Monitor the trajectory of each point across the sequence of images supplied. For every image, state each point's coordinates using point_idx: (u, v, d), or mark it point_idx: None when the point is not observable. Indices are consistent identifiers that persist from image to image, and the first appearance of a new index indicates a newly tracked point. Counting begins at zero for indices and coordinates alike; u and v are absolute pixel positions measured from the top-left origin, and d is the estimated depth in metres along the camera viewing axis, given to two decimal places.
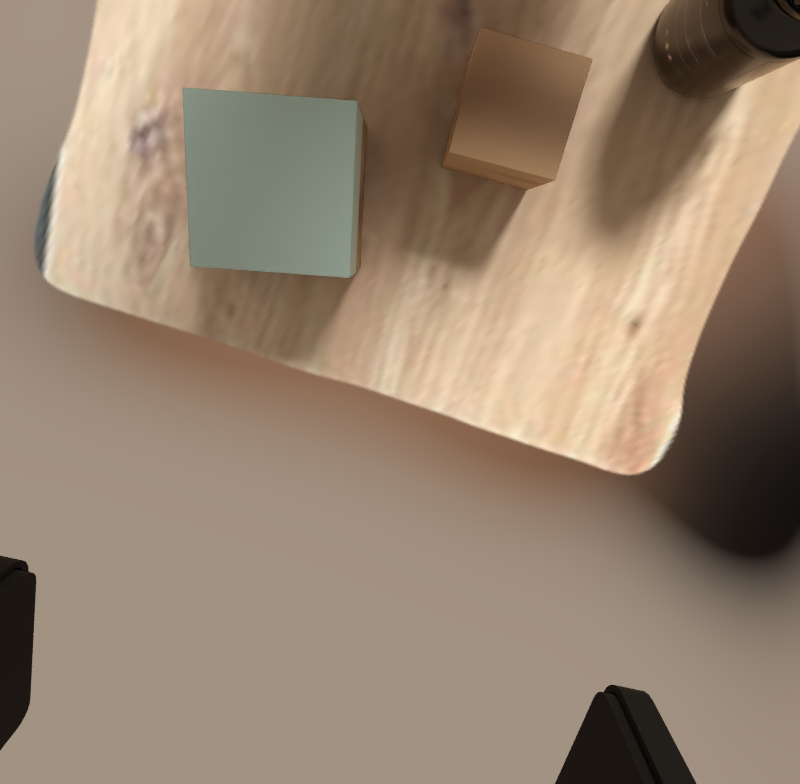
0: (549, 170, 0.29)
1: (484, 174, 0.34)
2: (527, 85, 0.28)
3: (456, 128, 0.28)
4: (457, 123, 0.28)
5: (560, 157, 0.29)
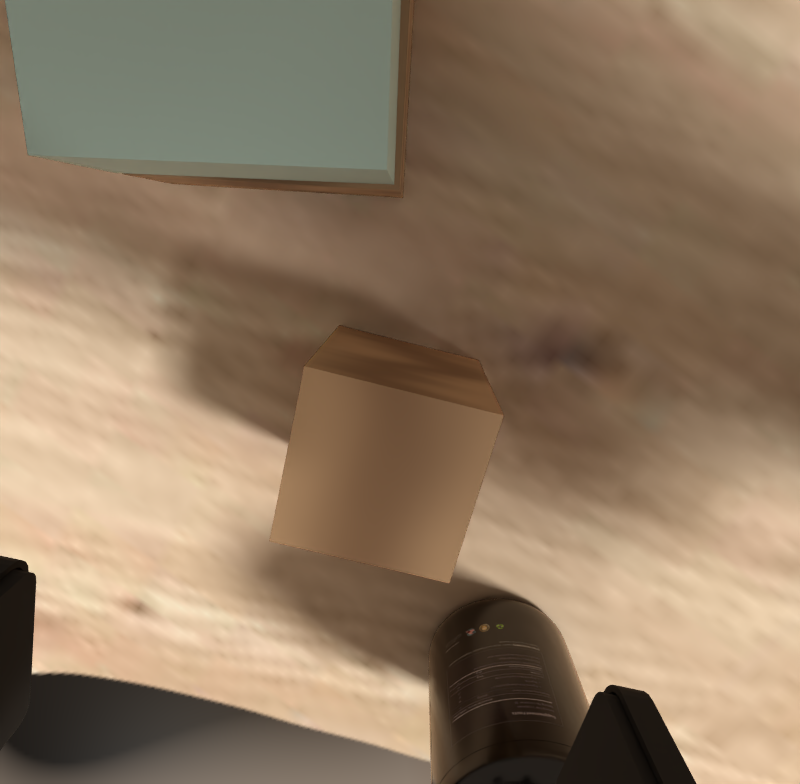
0: (284, 532, 0.17)
1: None
2: (413, 493, 0.16)
3: (343, 378, 0.15)
4: (352, 379, 0.15)
5: (305, 547, 0.17)
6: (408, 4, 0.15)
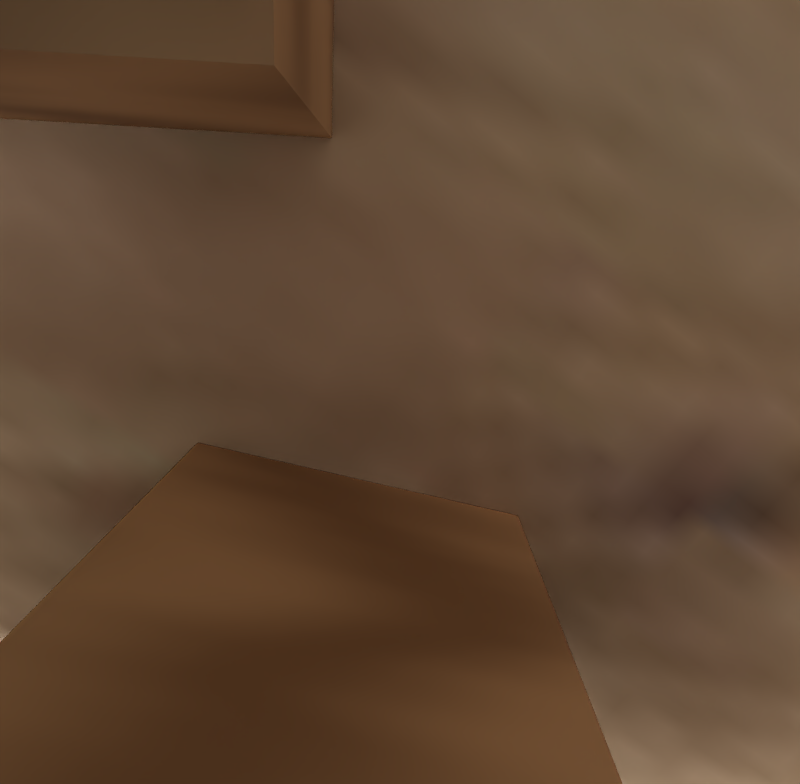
0: None
1: None
2: None
3: None
4: None
5: None
6: None
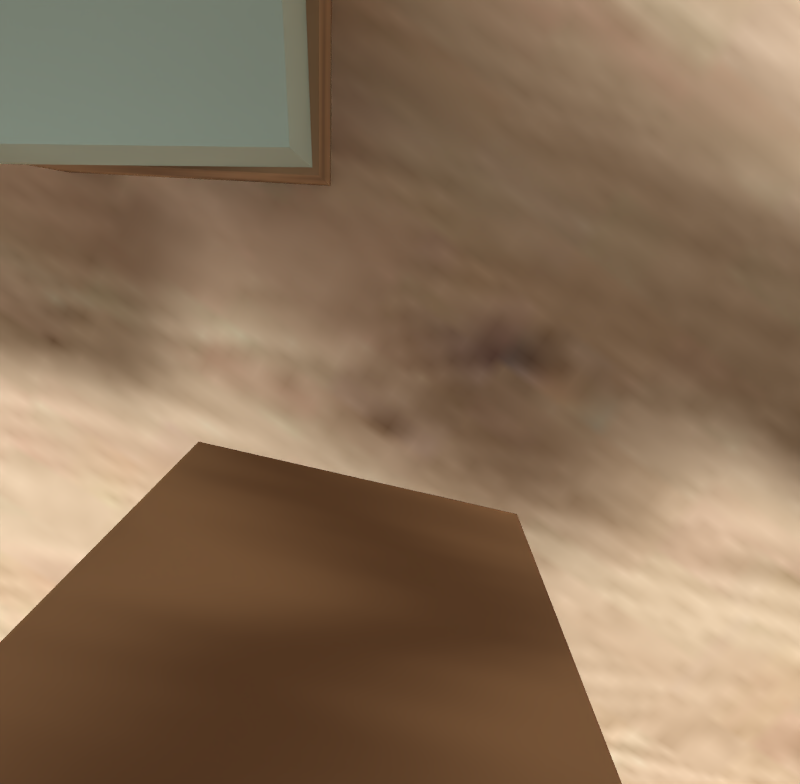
0: None
1: None
2: None
3: None
4: None
5: None
6: None
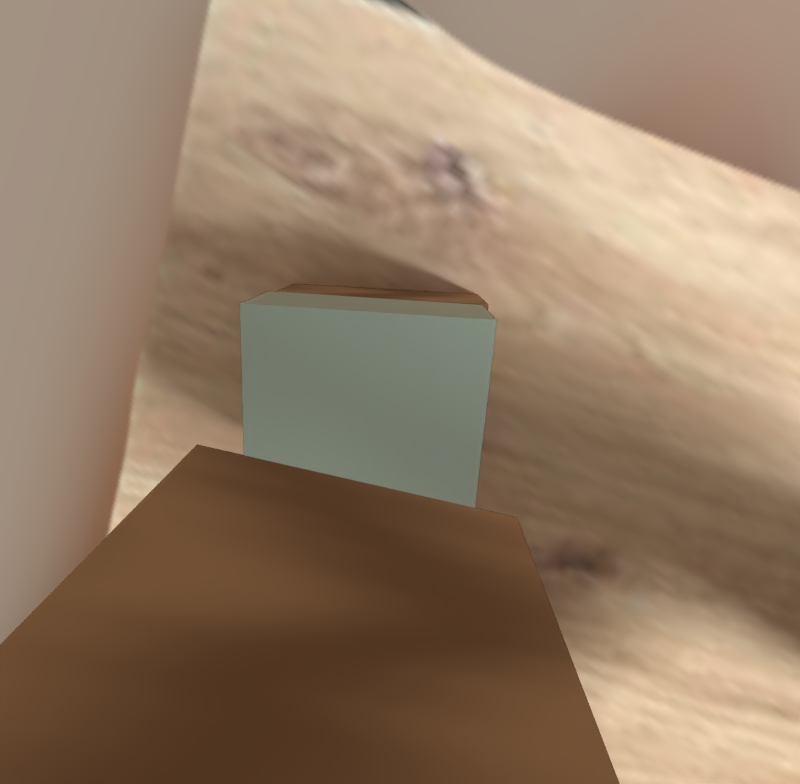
0: None
1: None
2: None
3: None
4: None
5: None
6: None
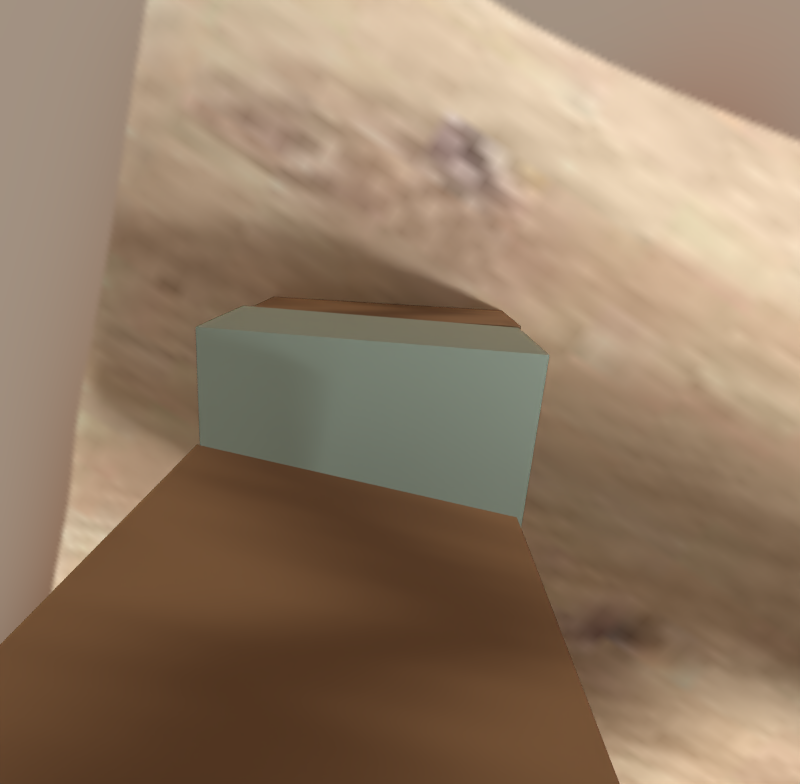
0: None
1: None
2: None
3: None
4: None
5: None
6: None
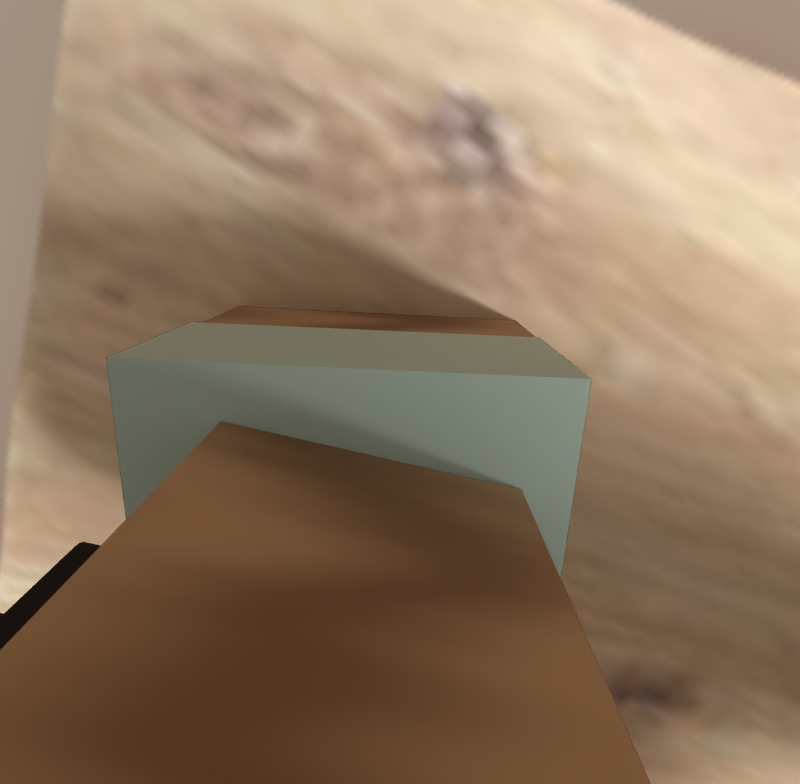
0: None
1: None
2: None
3: None
4: None
5: None
6: None
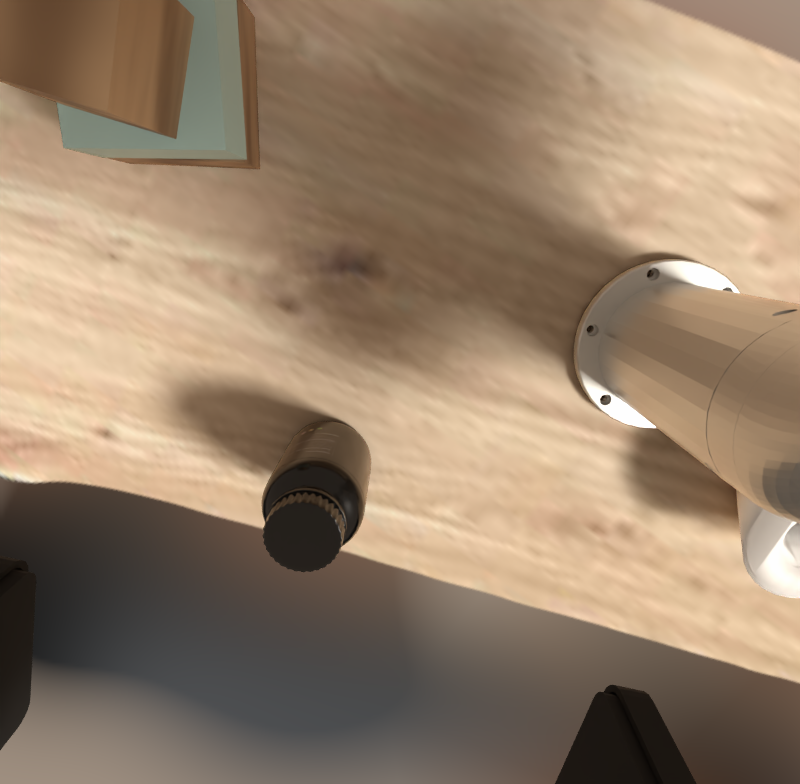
0: None
1: None
2: (67, 21, 0.21)
3: None
4: None
5: None
6: None
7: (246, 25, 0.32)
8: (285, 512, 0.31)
